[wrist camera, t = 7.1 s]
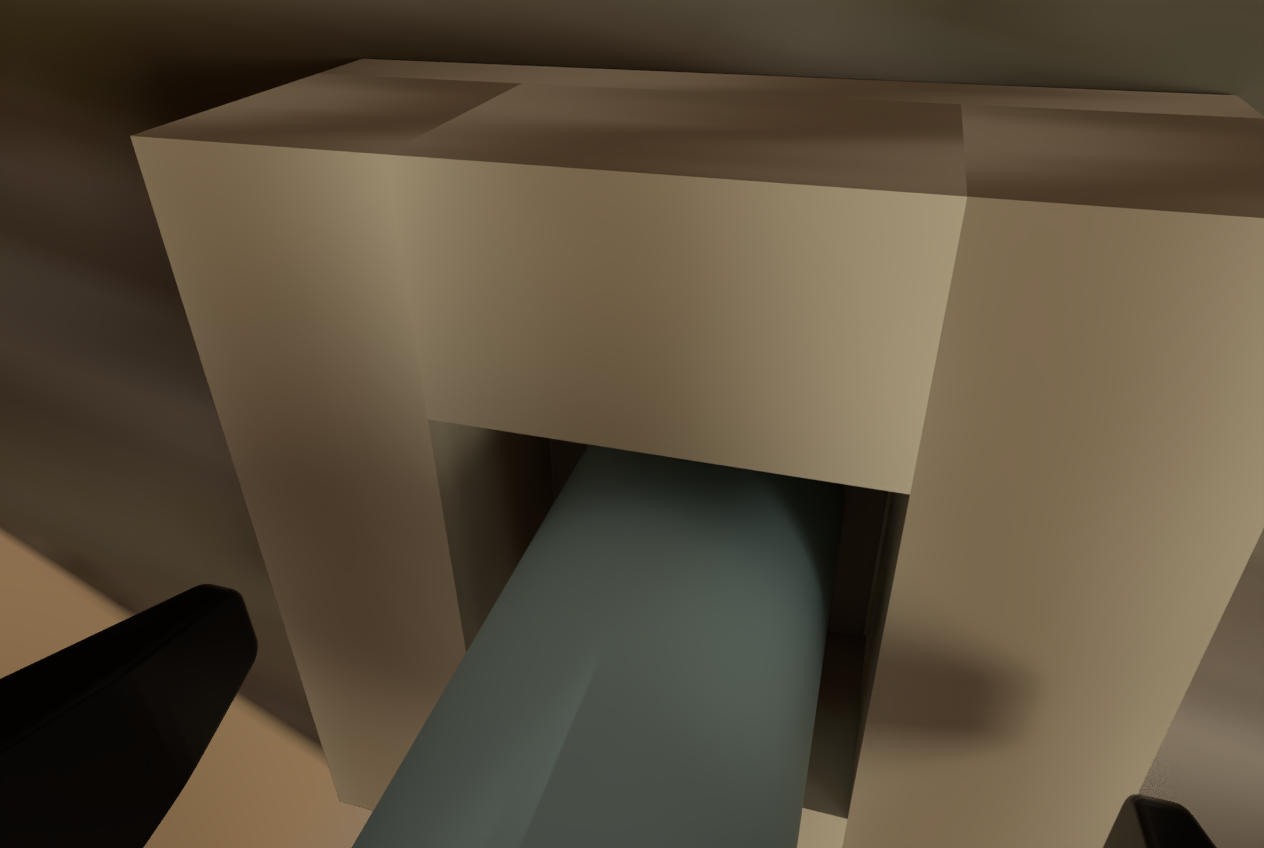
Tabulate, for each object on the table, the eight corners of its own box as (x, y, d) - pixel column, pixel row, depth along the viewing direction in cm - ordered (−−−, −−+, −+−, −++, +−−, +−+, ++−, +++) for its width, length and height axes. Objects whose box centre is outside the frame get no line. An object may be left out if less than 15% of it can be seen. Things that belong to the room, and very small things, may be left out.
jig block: (1236, 95, 9) (1405, 229, 6) (1017, 742, 14) (1039, 1001, 11) (362, 58, 11) (130, 135, 8) (457, 619, 17) (339, 801, 13)
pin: (861, 393, 10) (696, 1601, 3) (829, 605, 12) (681, 1663, 5) (584, 358, 11) (-37, 1250, 4) (594, 562, 13) (183, 1417, 6)
